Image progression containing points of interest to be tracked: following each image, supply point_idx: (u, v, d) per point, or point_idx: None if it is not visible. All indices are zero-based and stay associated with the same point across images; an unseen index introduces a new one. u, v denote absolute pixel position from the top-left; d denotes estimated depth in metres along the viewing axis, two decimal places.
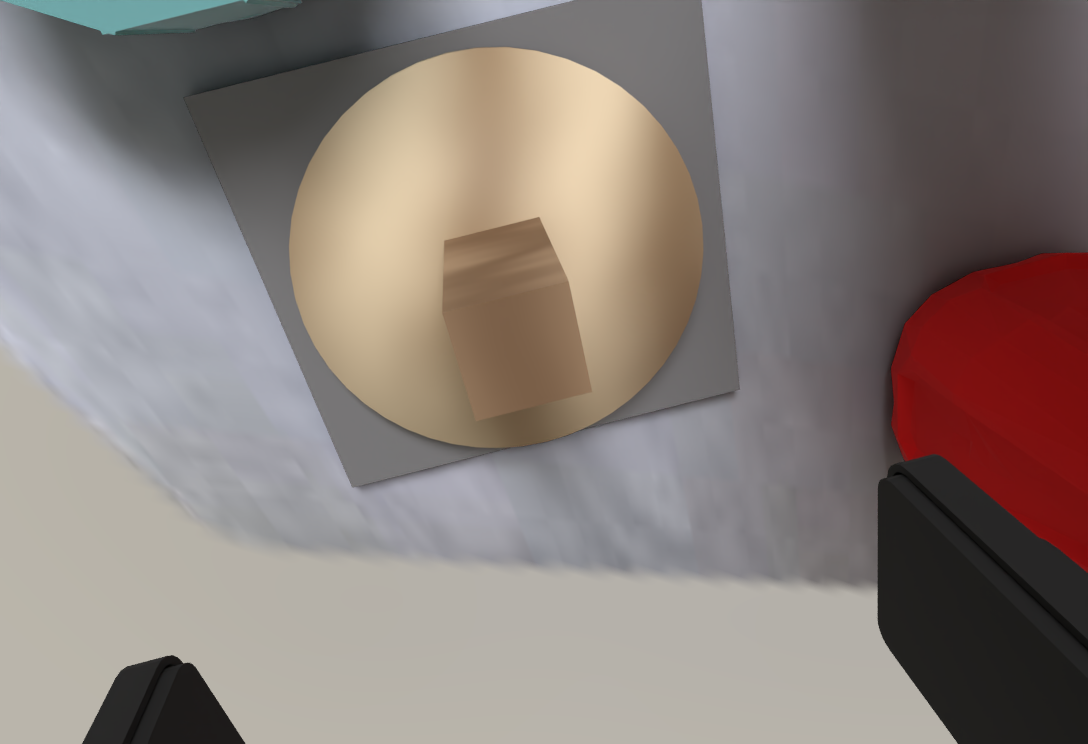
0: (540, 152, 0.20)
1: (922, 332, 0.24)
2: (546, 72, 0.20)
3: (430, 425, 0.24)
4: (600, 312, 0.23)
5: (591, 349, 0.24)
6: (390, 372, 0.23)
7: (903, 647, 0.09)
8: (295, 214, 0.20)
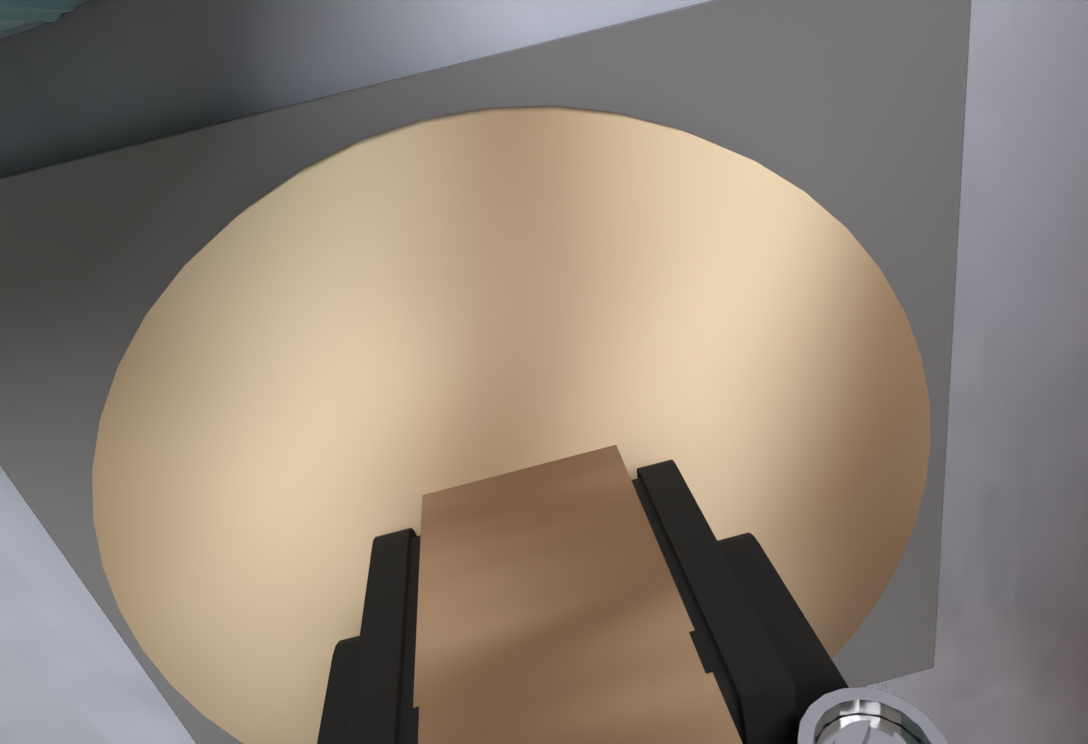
0: (625, 326, 0.10)
1: None
2: (647, 164, 0.09)
3: None
4: None
5: None
6: None
7: None
8: (99, 464, 0.09)
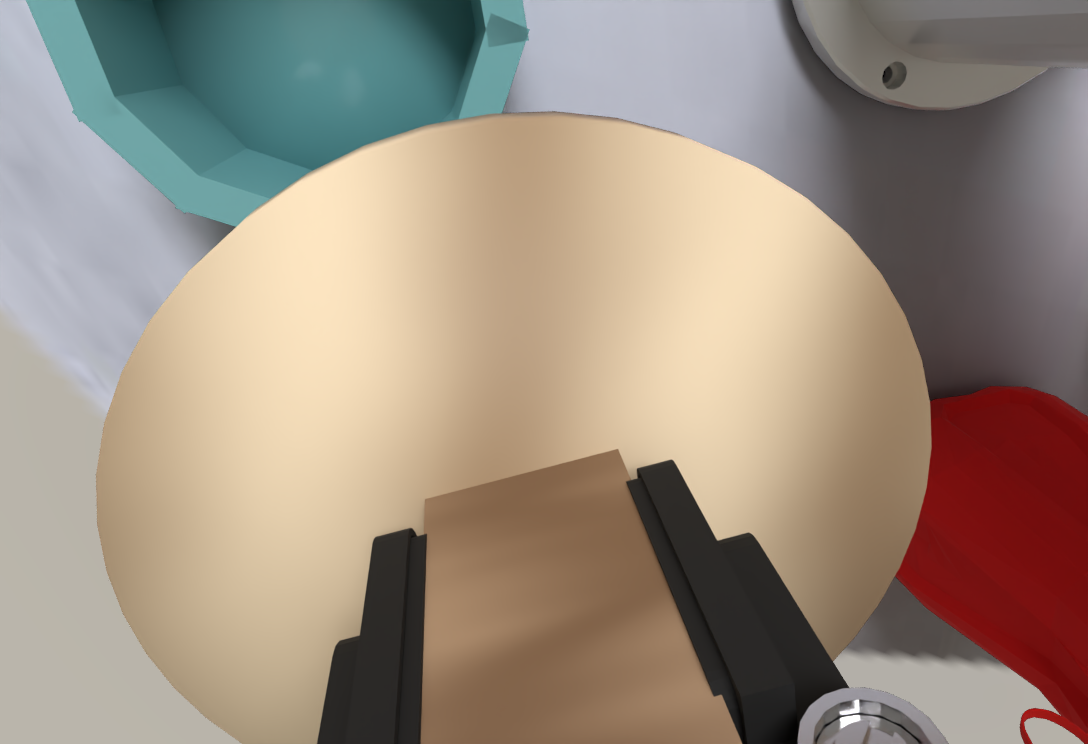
0: (626, 331, 0.10)
1: None
2: (648, 171, 0.09)
3: None
4: None
5: None
6: None
7: None
8: (103, 469, 0.10)
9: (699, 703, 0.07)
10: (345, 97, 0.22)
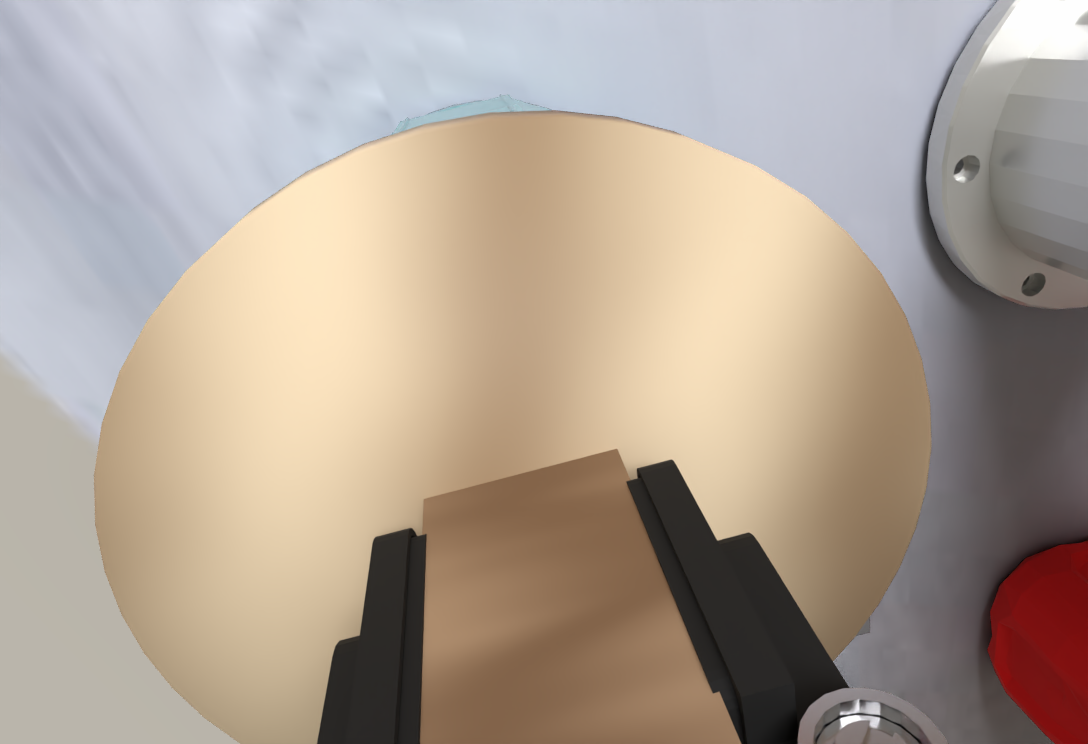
0: (626, 331, 0.10)
1: (1022, 599, 0.31)
2: (648, 169, 0.09)
3: None
4: None
5: None
6: None
7: None
8: (101, 468, 0.09)
9: (699, 703, 0.07)
10: None
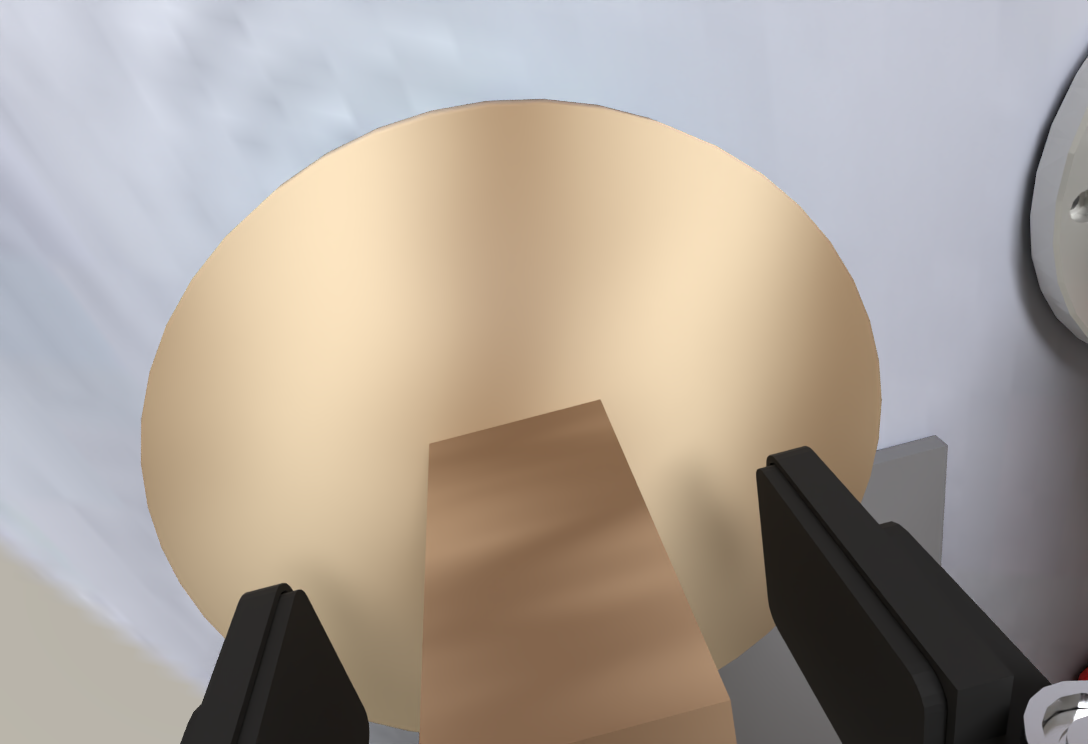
0: (606, 292, 0.11)
1: None
2: (624, 149, 0.10)
3: (409, 714, 0.14)
4: (697, 540, 0.13)
5: None
6: (339, 645, 0.13)
7: (785, 626, 0.10)
8: (148, 412, 0.11)
9: (659, 585, 0.08)
10: None
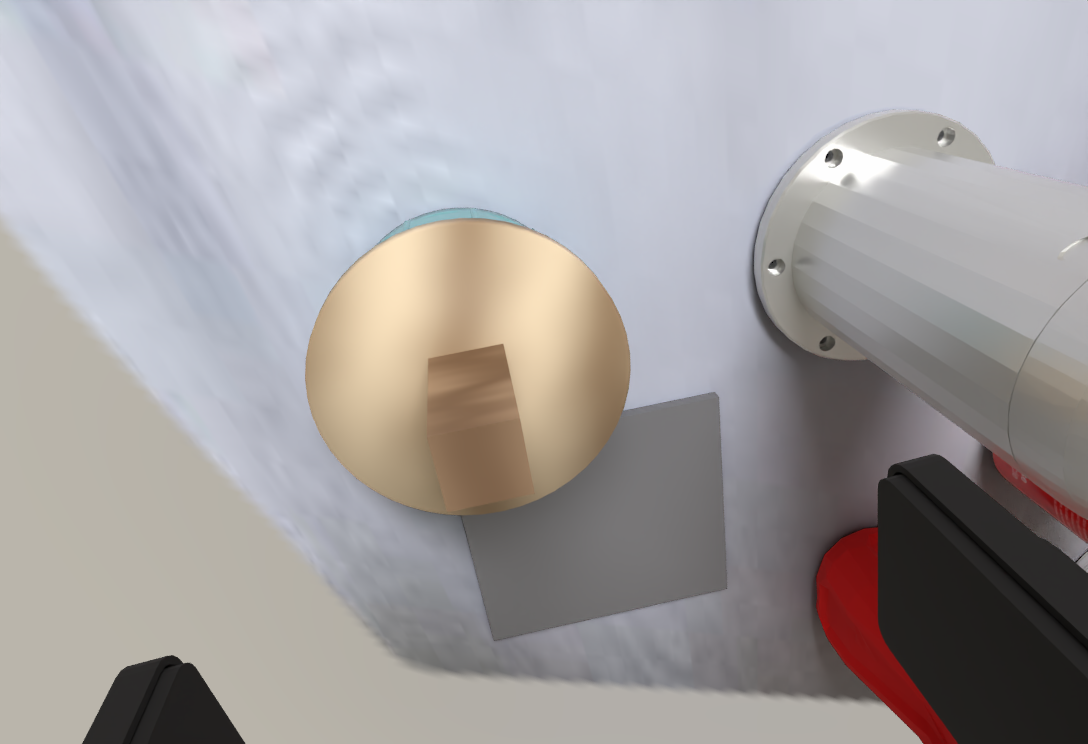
0: (506, 297, 0.27)
1: (833, 566, 0.43)
2: (512, 242, 0.26)
3: (408, 496, 0.30)
4: (548, 414, 0.29)
5: (540, 442, 0.30)
6: (379, 455, 0.29)
7: (903, 647, 0.09)
8: (313, 336, 0.26)
9: (508, 396, 0.24)
10: None
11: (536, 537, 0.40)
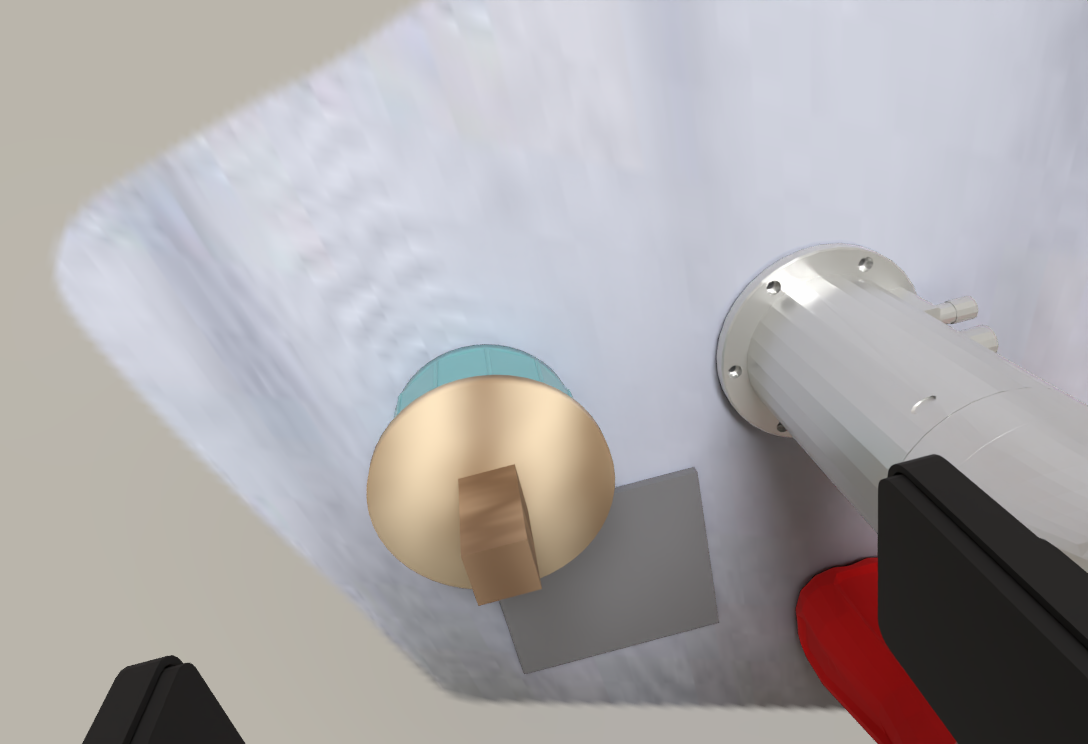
0: (514, 432, 0.35)
1: (807, 601, 0.50)
2: (517, 393, 0.34)
3: (448, 578, 0.39)
4: (553, 511, 0.37)
5: (548, 532, 0.38)
6: (424, 549, 0.37)
7: (903, 647, 0.09)
8: (371, 470, 0.35)
9: (518, 518, 0.32)
10: None
11: (554, 590, 0.48)
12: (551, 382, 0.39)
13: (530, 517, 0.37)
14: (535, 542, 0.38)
